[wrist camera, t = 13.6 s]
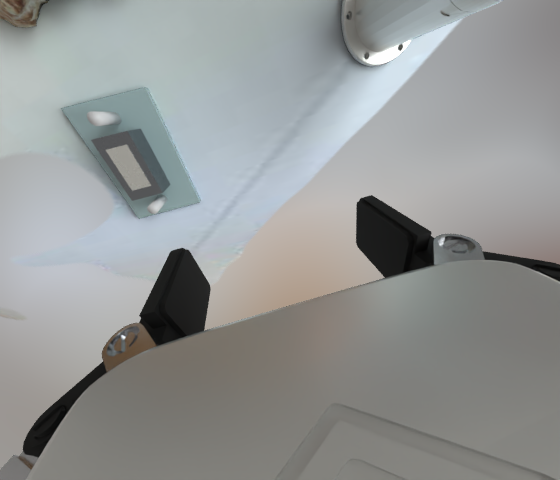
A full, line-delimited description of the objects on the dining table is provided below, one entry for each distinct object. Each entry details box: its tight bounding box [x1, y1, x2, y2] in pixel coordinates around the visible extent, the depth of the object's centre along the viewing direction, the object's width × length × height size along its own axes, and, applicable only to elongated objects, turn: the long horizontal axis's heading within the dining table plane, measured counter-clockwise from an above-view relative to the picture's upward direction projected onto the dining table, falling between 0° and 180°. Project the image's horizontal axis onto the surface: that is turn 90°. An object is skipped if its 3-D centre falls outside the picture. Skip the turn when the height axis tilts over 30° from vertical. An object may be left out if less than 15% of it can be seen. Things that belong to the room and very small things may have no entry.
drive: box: [91, 129, 171, 201], centre depth 31 cm, size 5×9×5 cm, turn 12°
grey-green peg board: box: [61, 87, 201, 219], centre depth 31 cm, size 12×18×6 cm, turn 13°
